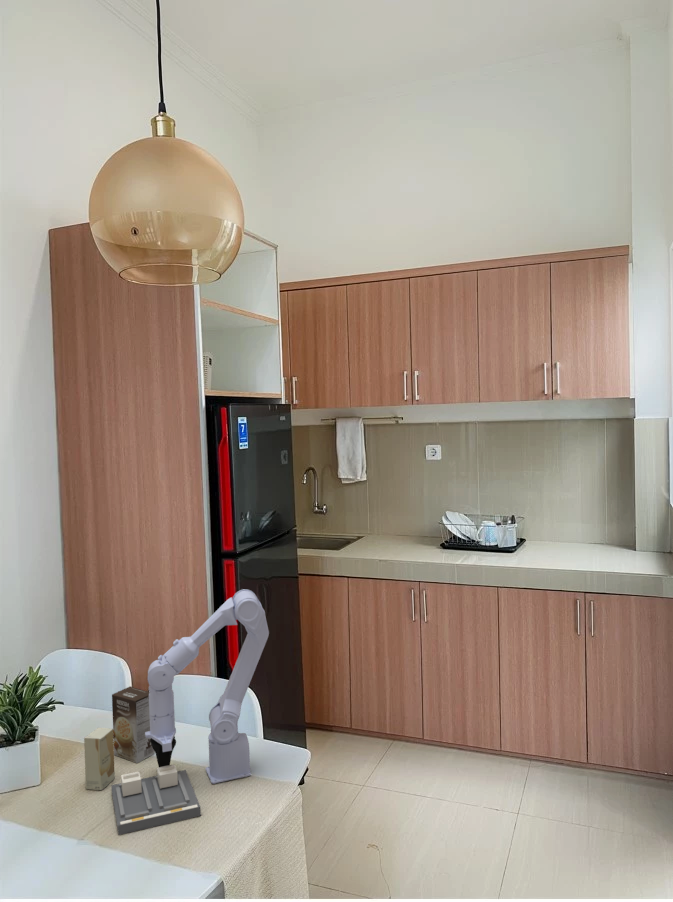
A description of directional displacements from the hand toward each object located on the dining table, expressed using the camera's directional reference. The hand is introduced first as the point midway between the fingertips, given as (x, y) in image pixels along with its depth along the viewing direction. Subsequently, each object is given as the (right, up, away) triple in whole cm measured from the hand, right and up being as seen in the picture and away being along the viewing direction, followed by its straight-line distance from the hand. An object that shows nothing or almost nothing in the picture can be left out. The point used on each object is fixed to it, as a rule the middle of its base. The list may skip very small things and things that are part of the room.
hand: (164, 768), depth 167 cm
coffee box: (-11, -3, +15) cm, 19 cm away
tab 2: (+2, -1, -5) cm, 5 cm away
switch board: (0, -4, -10) cm, 10 cm away
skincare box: (-15, -4, 0) cm, 16 cm away
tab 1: (-6, -1, -8) cm, 10 cm away
